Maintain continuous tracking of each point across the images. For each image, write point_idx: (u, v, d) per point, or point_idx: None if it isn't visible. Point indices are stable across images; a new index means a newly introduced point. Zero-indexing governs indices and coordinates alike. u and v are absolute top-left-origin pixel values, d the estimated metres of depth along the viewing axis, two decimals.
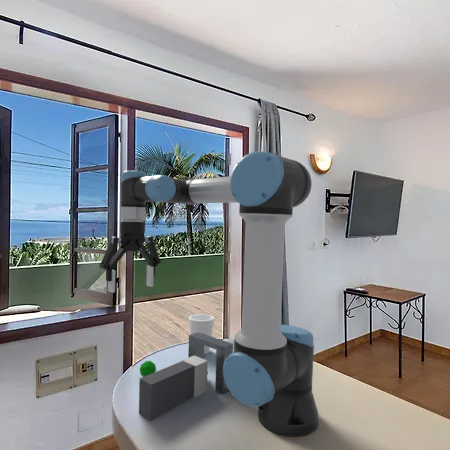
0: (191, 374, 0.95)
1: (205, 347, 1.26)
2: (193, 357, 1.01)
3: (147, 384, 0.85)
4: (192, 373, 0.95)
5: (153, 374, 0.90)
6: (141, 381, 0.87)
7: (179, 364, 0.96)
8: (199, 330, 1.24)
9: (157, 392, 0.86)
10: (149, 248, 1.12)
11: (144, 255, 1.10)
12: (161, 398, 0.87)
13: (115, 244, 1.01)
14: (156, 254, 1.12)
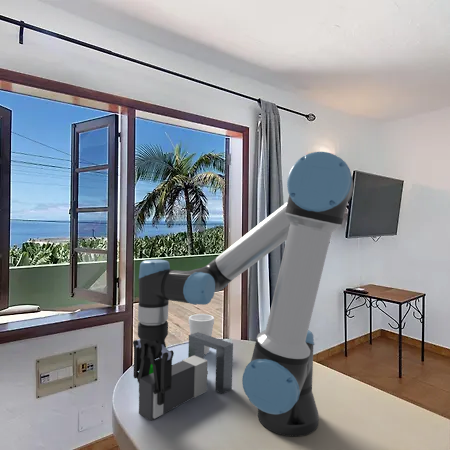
0: (191, 374, 0.95)
1: (205, 347, 1.26)
2: (193, 357, 1.01)
3: (147, 384, 0.85)
4: (192, 373, 0.95)
5: (153, 374, 0.90)
6: (141, 381, 0.87)
7: (179, 364, 0.96)
8: (199, 330, 1.24)
9: None
10: None
11: None
12: None
13: (135, 349, 0.90)
14: (162, 378, 0.83)
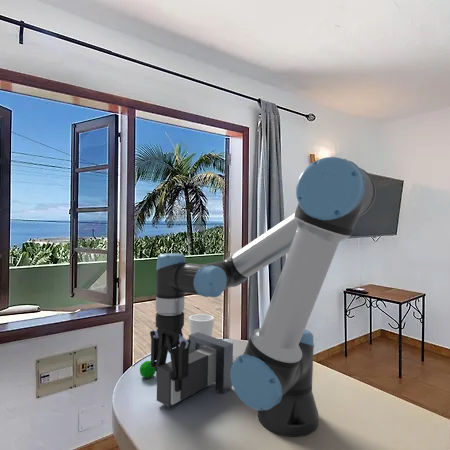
0: (205, 363, 0.99)
1: None
2: (206, 347, 1.05)
3: (165, 371, 0.89)
4: (206, 362, 0.99)
5: (169, 363, 0.94)
6: (159, 369, 0.91)
7: (193, 354, 1.00)
8: (199, 330, 1.24)
9: None
10: None
11: None
12: None
13: (152, 339, 0.94)
14: (180, 366, 0.87)
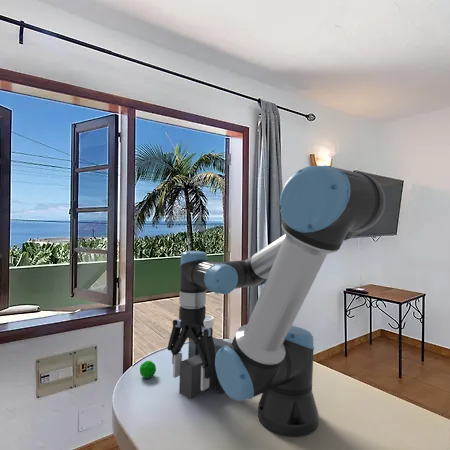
0: None
1: None
2: None
3: (187, 366, 0.96)
4: None
5: (191, 358, 1.00)
6: (181, 364, 0.97)
7: None
8: None
9: (196, 374, 0.96)
10: None
11: None
12: (200, 379, 0.98)
13: (173, 327, 1.01)
14: (208, 354, 0.92)
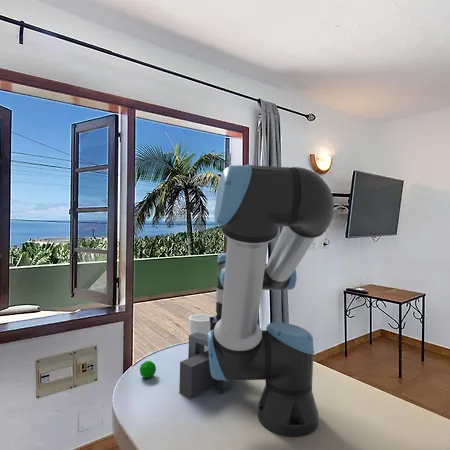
0: None
1: (205, 347, 1.26)
2: None
3: (187, 366, 0.96)
4: None
5: (191, 358, 1.00)
6: (181, 364, 0.97)
7: None
8: (199, 330, 1.24)
9: (196, 374, 0.96)
10: None
11: None
12: (200, 379, 0.98)
13: (211, 323, 1.13)
14: None
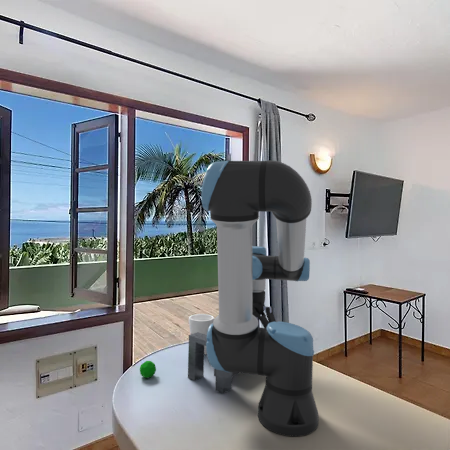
0: None
1: (205, 347, 1.26)
2: None
3: None
4: None
5: None
6: None
7: None
8: (199, 330, 1.24)
9: None
10: None
11: None
12: None
13: None
14: None
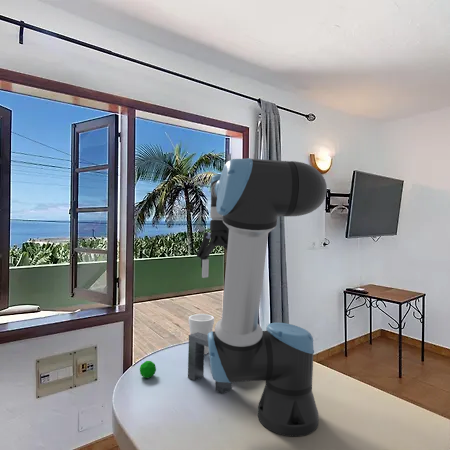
0: None
1: (205, 347, 1.26)
2: None
3: None
4: None
5: None
6: None
7: None
8: (199, 330, 1.24)
9: None
10: None
11: None
12: None
13: (204, 238, 1.23)
14: None
